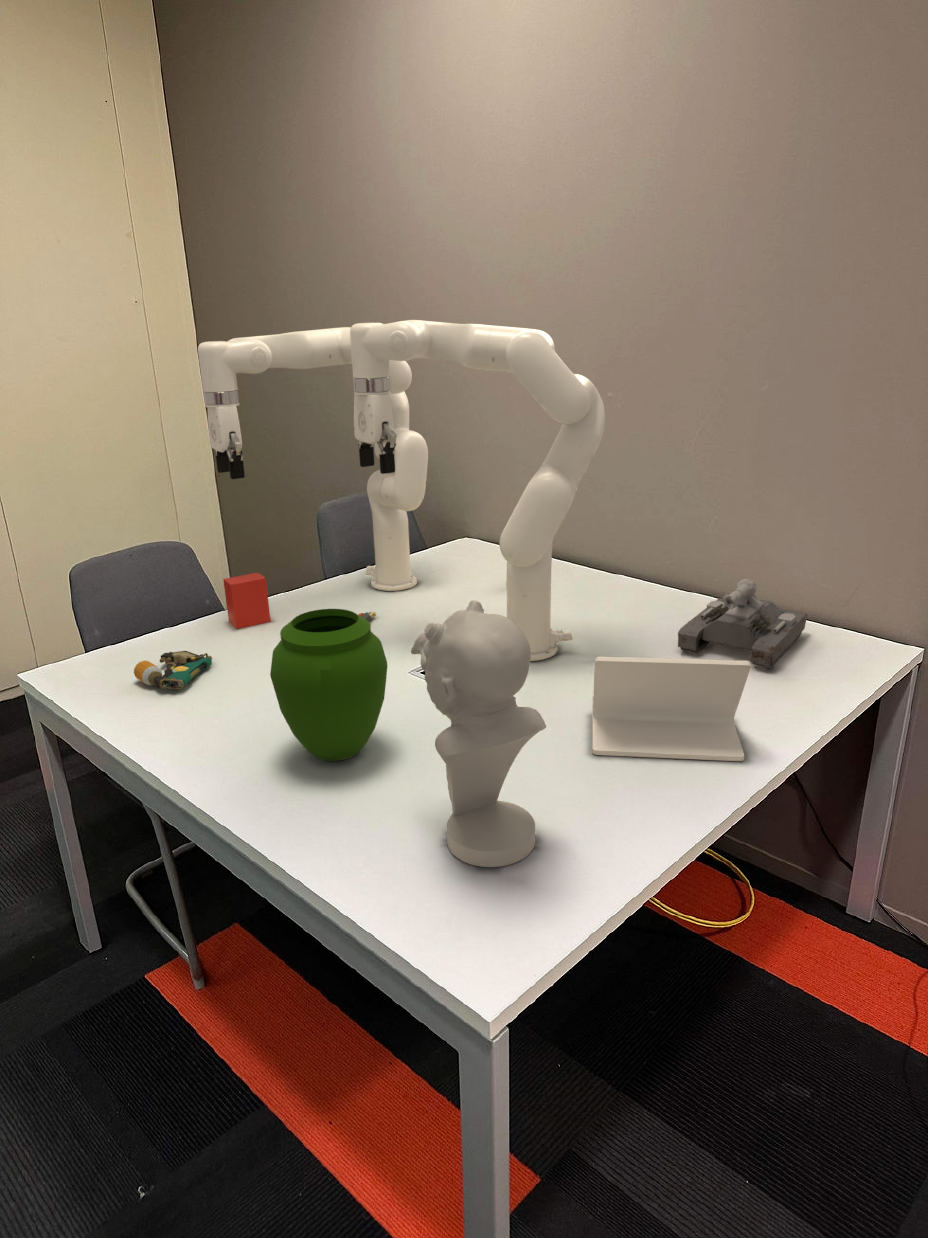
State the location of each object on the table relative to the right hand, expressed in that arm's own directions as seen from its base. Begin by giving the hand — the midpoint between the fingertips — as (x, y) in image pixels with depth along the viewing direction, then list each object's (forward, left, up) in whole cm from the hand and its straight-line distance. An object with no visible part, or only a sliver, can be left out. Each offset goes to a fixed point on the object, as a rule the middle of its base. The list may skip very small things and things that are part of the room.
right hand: (377, 469), depth 181 cm
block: (+31, -23, -40) cm, 56 cm away
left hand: (+31, -23, -3) cm, 39 cm away
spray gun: (+46, +6, -40) cm, 61 cm away
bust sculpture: (-1, +77, -40) cm, 86 cm away
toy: (-75, +23, -40) cm, 88 cm away
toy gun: (+9, -11, -40) cm, 42 cm away
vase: (+16, +47, -40) cm, 64 cm away
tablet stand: (-41, +56, -40) cm, 80 cm away
